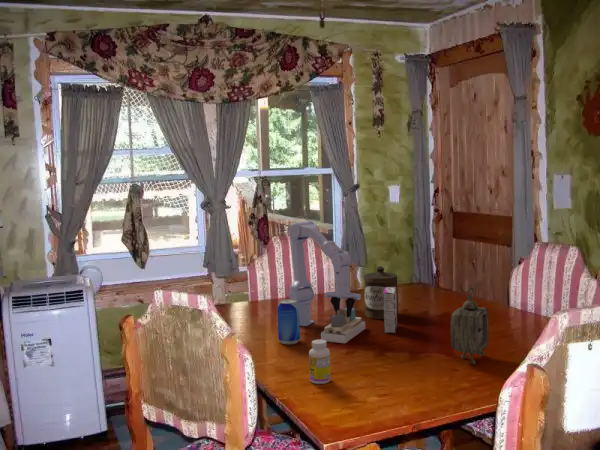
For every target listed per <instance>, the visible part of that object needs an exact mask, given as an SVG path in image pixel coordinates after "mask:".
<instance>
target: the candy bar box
mask: <svg viewBox="0 0 600 450" xmlns="http://www.w3.org/2000/svg"><path fill="white" fill-rule="evenodd" d="M383 306H384V319H383V332H384V333H385V334H396V332H397V328H398V316H397V301H396V288H395V287H386V288H385V289H384V292H383Z"/></svg>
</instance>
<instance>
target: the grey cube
mask: <svg viewBox="0 0 600 450" xmlns="http://www.w3.org/2000/svg"><path fill="white" fill-rule="evenodd" d="M330 324H331V327H342V326H344V325H345V315H340V314H336V313H334V314H333V315H331V316H330Z"/></svg>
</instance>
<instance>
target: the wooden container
mask: <svg viewBox="0 0 600 450" xmlns="http://www.w3.org/2000/svg"><path fill="white" fill-rule="evenodd" d="M375 269H376V272H371V273H370V272H369V273H365V274H364V275H363V281H364V316H365V317H366V318H368V319H374V320H384V306H383V292H384V289H385V288H386V287H395V288H396V301H397V317H399V293H398V292H399V291H398V287H399V286H398V275H397V274H396V273H392V272H385V267H384V266H377V267H376V268H375Z"/></svg>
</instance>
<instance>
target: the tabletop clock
mask: <svg viewBox="0 0 600 450" xmlns="http://www.w3.org/2000/svg"><path fill="white" fill-rule="evenodd" d="M470 291H472V295H469V294H470ZM474 295H475V290H474V287H469V288H468V289H467V292H466V299H467V300H465V301H464V302H463V304H462V306H461V307H458V308H457V309H455V310H454V311H453V312H452V313H451V316H450V345H451V346H450V347H451V348H452V349H453V350H455V351H456V352H463V354H461V358H462V359H466V358H467V355H466V353H467V354H468V355H469V356H470V364H471V365H472V366H473V365H476V360H475V359H474V358H473V357H474V356H473V354H475V355H476V354H477V355H480V356H481V357H484V355H485V349H487V347H488V345H489V328H490V327H489V326H490V325H489V309H488V308H487V307H479V306H478V303H477V302H476V301H474V300H473V299H474Z"/></svg>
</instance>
